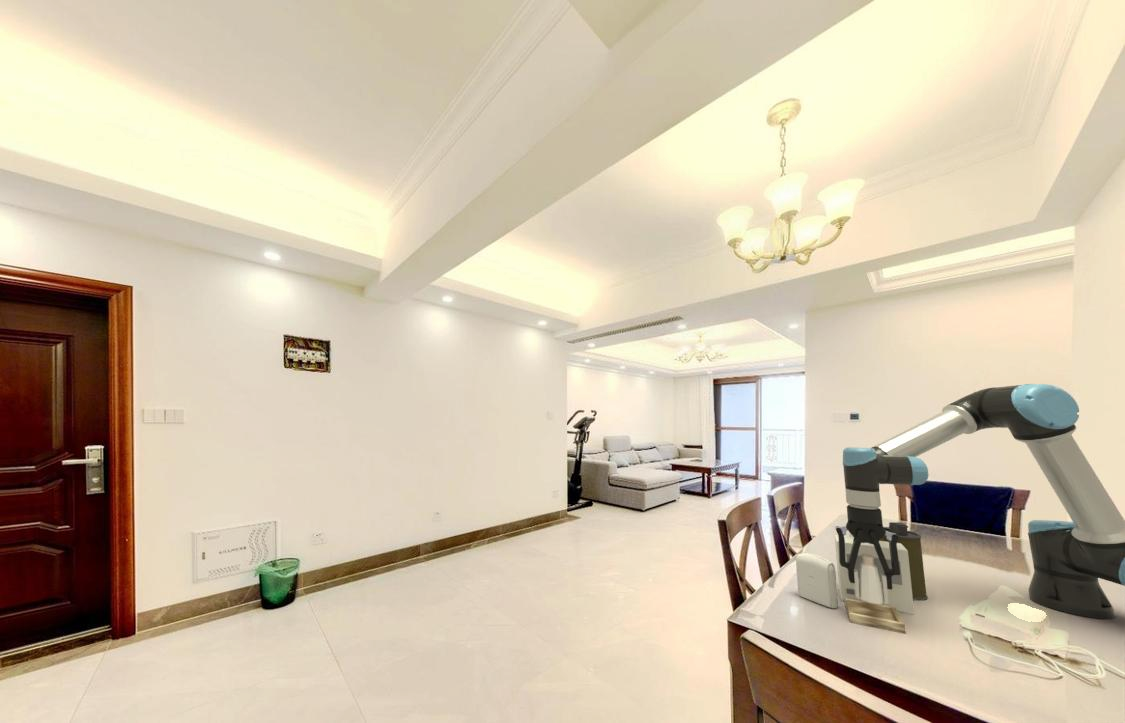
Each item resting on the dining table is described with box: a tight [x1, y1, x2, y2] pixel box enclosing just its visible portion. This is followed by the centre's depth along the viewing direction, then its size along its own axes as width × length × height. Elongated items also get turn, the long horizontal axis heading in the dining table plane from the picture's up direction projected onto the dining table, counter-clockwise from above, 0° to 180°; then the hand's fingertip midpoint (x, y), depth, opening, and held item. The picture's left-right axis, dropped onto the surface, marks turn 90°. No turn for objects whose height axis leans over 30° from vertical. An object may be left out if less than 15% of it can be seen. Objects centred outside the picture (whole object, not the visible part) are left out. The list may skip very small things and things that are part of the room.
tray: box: [844, 598, 907, 635], centre depth 106 cm, size 11×11×2 cm
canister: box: [880, 521, 929, 601], centre depth 124 cm, size 11×10×20 cm
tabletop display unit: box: [834, 534, 915, 615], centre depth 117 cm, size 16×9×16 cm, turn 61°
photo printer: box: [795, 552, 839, 609], centre depth 116 cm, size 10×4×12 cm, turn 26°
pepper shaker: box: [859, 554, 884, 604], centre depth 107 cm, size 5×5×11 cm
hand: (871, 598), depth 106 cm, fingers closed on pepper shaker, 5 cm apart
